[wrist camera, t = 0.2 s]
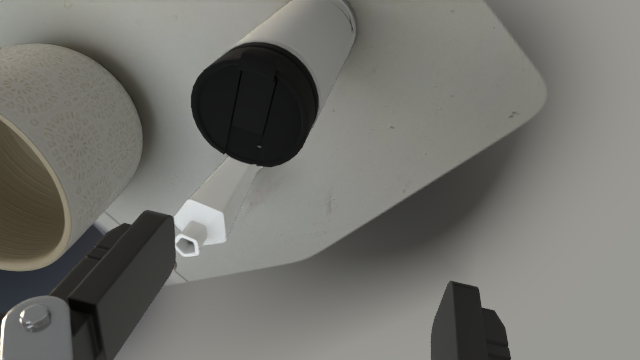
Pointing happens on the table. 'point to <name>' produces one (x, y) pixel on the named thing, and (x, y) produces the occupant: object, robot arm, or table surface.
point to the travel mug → (274, 82)
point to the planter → (59, 150)
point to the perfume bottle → (214, 207)
